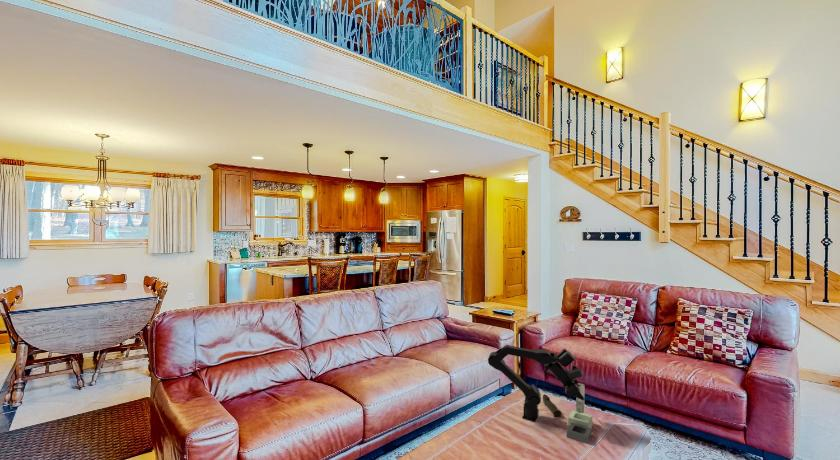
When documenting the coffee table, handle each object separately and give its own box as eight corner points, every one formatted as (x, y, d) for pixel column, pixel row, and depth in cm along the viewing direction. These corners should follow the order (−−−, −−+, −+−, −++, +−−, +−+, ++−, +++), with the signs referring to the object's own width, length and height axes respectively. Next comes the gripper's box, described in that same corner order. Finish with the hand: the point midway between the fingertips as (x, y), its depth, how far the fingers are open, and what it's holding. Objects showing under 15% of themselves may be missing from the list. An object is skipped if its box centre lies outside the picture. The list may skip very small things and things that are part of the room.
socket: (566, 437, 175) (566, 430, 175) (571, 429, 182) (571, 422, 182) (587, 444, 169) (587, 437, 169) (591, 435, 177) (591, 428, 177)
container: (566, 426, 185) (566, 417, 185) (571, 417, 193) (571, 409, 193) (589, 432, 179) (589, 424, 179) (593, 423, 187) (593, 415, 187)
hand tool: (561, 418, 193) (561, 409, 193) (553, 418, 193) (553, 409, 193) (548, 401, 212) (548, 392, 212) (541, 401, 212) (541, 392, 212)
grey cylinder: (577, 413, 184) (577, 386, 184) (575, 409, 188) (575, 383, 188) (585, 413, 184) (585, 386, 184) (582, 410, 187) (583, 383, 187)
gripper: (573, 368, 178) (599, 396, 175) (570, 355, 196) (593, 380, 192) (555, 383, 180) (580, 410, 177) (554, 369, 198) (576, 393, 195)
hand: (583, 397), depth 185 cm, fingers closed on grey cylinder, 4 cm apart
